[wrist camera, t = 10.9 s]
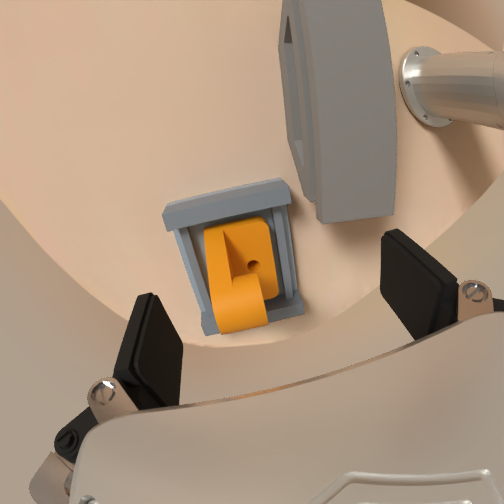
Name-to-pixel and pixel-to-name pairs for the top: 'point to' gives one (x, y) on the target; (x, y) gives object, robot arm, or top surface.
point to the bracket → (240, 273)
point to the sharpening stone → (340, 105)
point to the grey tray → (227, 210)
